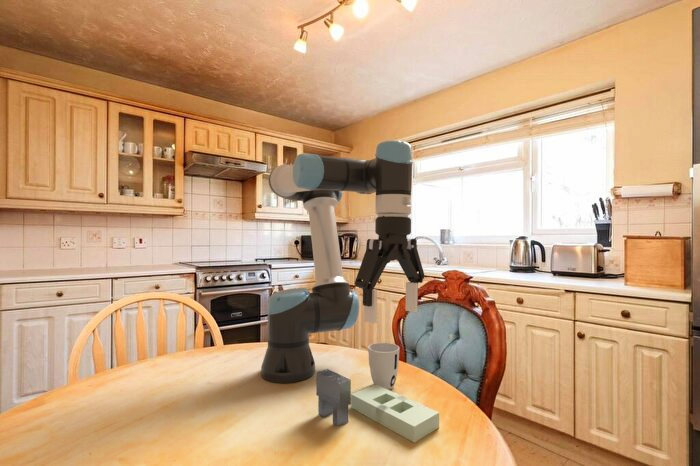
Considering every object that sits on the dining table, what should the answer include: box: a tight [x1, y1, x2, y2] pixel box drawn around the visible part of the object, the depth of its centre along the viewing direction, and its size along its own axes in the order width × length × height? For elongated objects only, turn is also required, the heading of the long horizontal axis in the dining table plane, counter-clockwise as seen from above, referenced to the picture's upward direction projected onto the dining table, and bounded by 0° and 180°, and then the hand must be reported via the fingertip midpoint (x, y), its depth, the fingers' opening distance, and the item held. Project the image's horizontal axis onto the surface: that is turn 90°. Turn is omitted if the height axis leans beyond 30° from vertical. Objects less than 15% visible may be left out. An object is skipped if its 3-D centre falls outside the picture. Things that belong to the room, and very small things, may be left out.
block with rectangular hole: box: [350, 384, 440, 443], centre depth 75 cm, size 18×8×3 cm, turn 41°
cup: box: [367, 342, 400, 391], centre depth 90 cm, size 8×8×10 cm
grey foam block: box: [315, 368, 352, 428], centre depth 74 cm, size 8×3×9 cm, turn 41°
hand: (392, 316), depth 73 cm, fingers open, 13 cm apart
